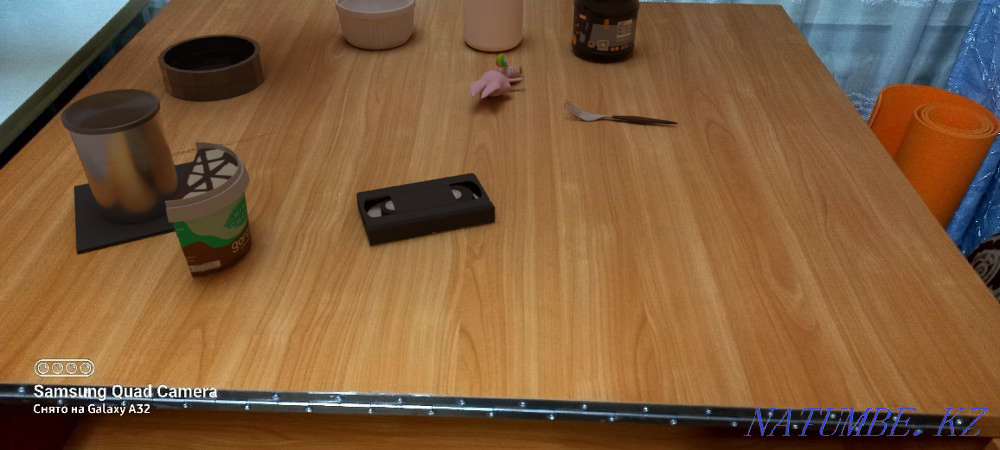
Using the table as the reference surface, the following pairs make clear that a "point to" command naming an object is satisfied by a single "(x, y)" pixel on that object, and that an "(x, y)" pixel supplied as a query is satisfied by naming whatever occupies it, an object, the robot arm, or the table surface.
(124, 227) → the mat
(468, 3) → the cup
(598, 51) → the supplement container
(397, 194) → the vhs tape
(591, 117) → the fork
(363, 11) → the ramekin
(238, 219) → the food container
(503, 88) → the rabbit figure
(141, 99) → the small pot
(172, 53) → the shallow dark brown bowl
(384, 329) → the table surface
